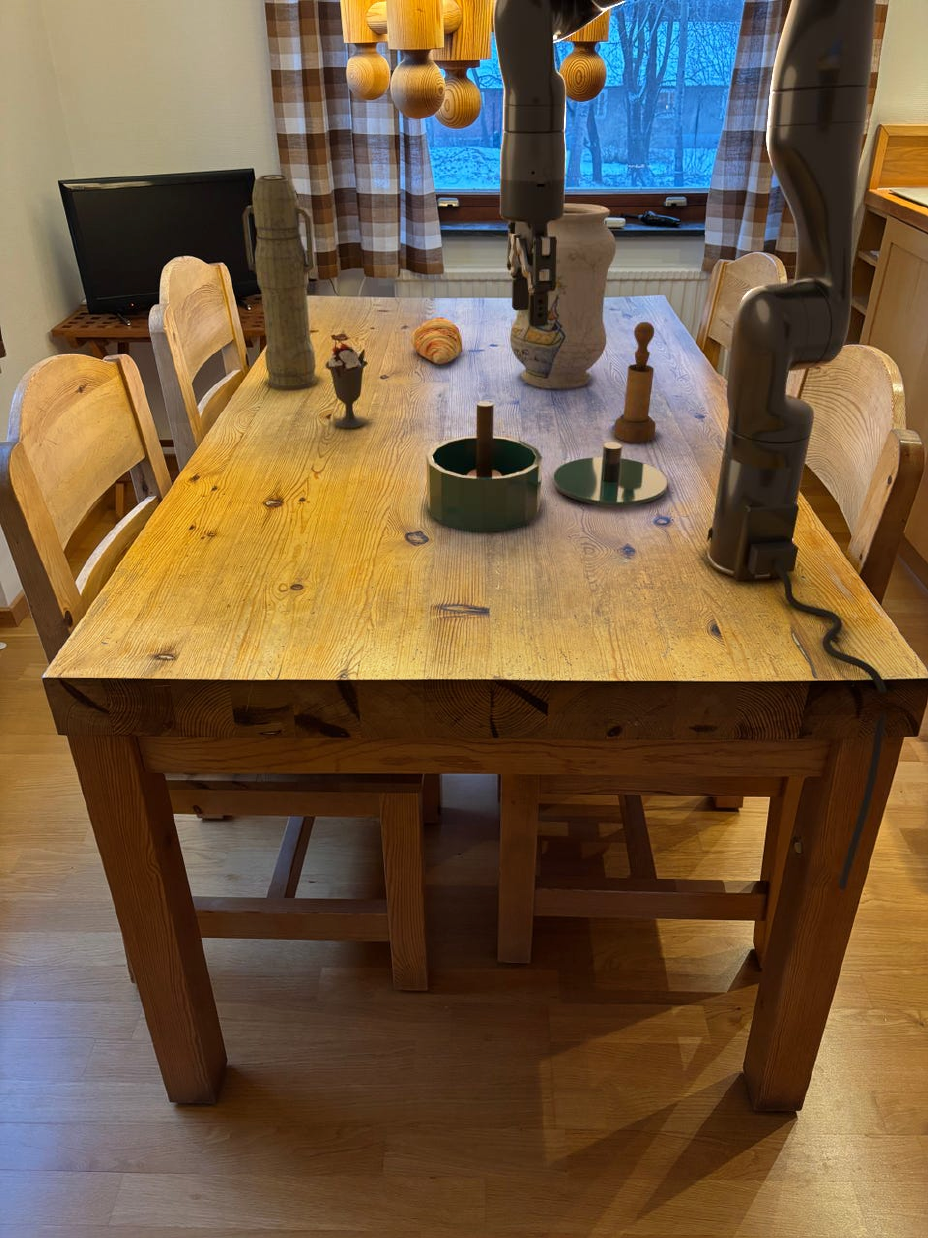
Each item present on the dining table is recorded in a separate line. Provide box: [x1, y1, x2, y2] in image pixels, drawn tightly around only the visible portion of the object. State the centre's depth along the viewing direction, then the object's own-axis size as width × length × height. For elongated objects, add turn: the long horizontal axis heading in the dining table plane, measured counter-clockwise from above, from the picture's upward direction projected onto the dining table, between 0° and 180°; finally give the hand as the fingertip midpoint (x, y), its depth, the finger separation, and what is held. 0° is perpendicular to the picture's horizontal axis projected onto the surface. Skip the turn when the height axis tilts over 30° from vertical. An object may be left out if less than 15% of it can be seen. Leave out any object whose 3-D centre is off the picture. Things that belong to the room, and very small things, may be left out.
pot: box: [425, 435, 543, 533], centre depth 130 cm, size 15×15×8 cm
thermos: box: [241, 174, 317, 390], centre depth 170 cm, size 9×12×35 cm
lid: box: [552, 441, 668, 507], centre depth 137 cm, size 16×16×6 cm
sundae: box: [325, 334, 369, 430], centre depth 157 cm, size 7×7×15 cm
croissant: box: [410, 317, 463, 365], centre depth 194 cm, size 21×10×8 cm, turn 7°
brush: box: [467, 400, 502, 477], centre depth 129 cm, size 5×5×14 cm
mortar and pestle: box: [613, 321, 657, 444], centre depth 151 cm, size 7×6×18 cm
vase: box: [509, 203, 617, 390], centre depth 173 cm, size 18×18×30 cm
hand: (529, 317), depth 120 cm, fingers open, 8 cm apart
